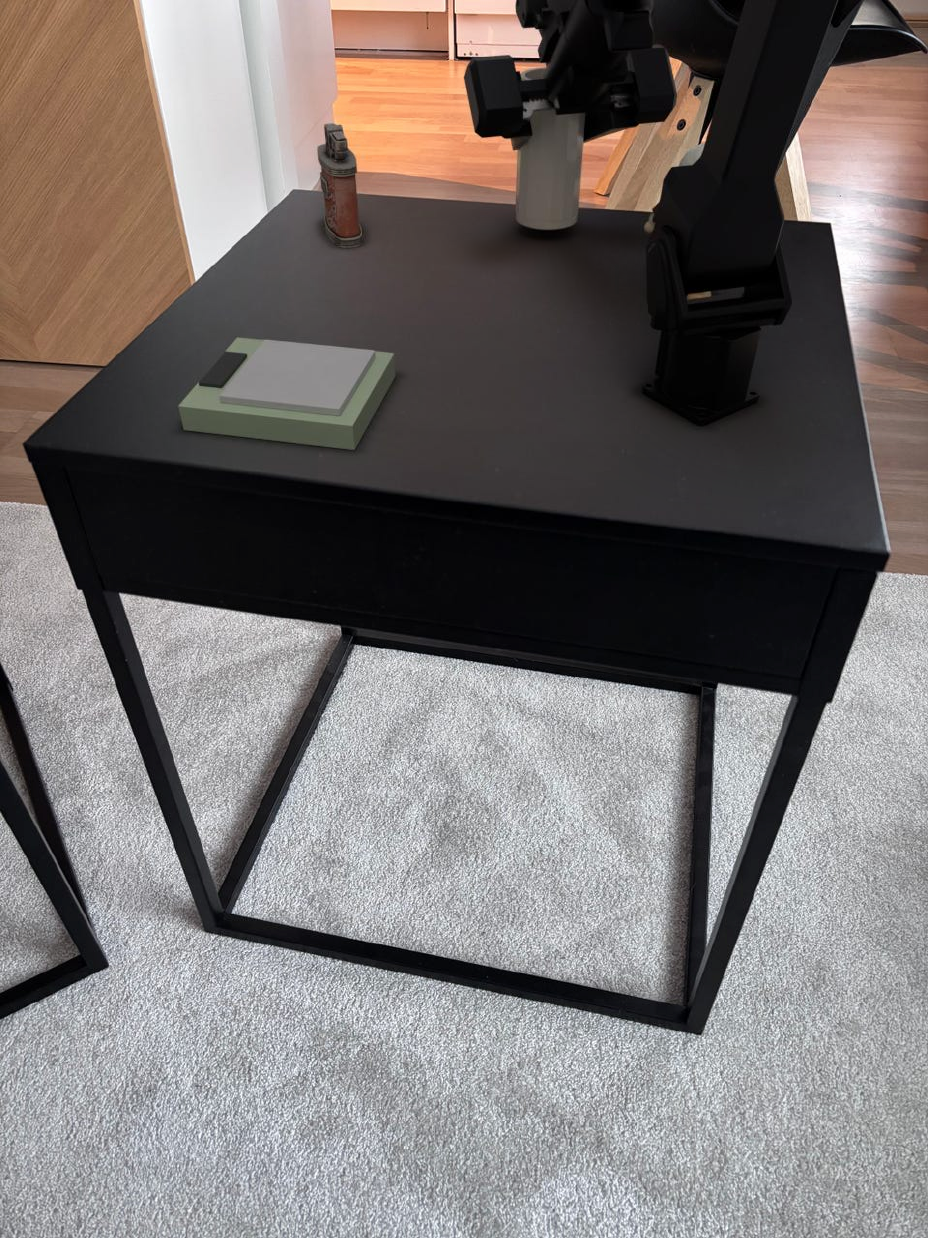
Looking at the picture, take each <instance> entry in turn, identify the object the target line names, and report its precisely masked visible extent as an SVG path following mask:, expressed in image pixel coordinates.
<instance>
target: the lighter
mask: <svg viewBox="0 0 928 1238" xmlns="http://www.w3.org/2000/svg"><path fill="white" fill-rule="evenodd" d="M323 130H324V131H323V132H324V141H325V143H323V144H320V145H318V146H317V149H316V151H317V161H318V163H319V166H320V172H319V180H320V188H321V192H322V193H323V201H324V211H325V213H324V217H323V221H324V229H325V233H326V235H327V237H328V238H329V240H330V241H332V242H333V244H335V245H336V246H337V247H340V248H343V249H344V248H345V249H346V248H347V249H348V248H356V247H359V246H361V245H362V244H363V232H362V230H363V229H362V226H361V224H360V217H359V206H358V205H359V204H358V191H357V180H356V174H357V173H358V164H357V157H356V155H355V153H354V152H353V151H352V150H351V149H350V148H349V147H348V145H349V144H348V138H347V137H346V136H345V132H344V129H343V125H342V124H336V123H333V122H332V123H331V122H330V123H324V124H323Z"/></svg>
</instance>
